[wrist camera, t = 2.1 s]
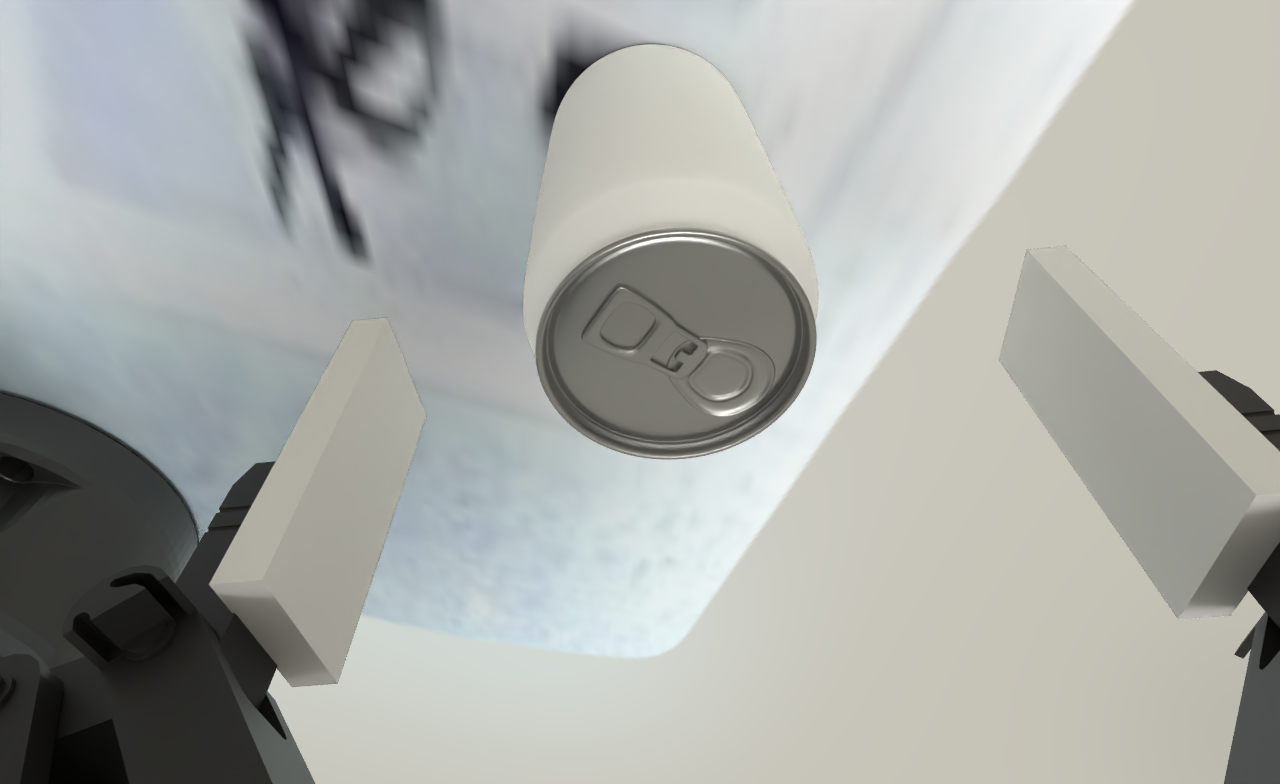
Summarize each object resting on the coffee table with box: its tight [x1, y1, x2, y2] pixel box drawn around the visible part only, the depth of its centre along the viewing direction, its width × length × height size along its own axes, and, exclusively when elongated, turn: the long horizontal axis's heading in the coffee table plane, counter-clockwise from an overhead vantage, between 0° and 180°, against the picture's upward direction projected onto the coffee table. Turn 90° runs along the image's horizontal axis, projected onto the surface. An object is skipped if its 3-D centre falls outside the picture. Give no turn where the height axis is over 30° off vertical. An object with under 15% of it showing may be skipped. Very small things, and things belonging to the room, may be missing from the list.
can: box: [523, 44, 818, 459], centre depth 19 cm, size 6×6×12 cm
